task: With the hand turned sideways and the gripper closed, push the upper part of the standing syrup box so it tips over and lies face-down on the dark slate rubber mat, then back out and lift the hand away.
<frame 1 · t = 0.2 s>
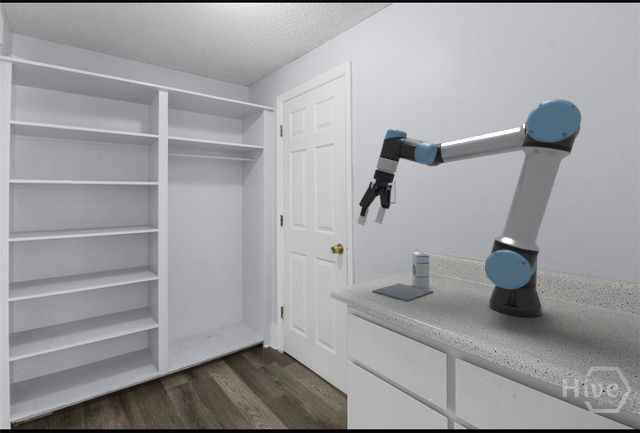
hand: (369, 223, 127), 27 cm above the worktop, tool tilted 15°, fingers open, 13 cm apart
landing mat: (402, 292, 128), on the worktop
syrup box: (420, 287, 136), on the worktop
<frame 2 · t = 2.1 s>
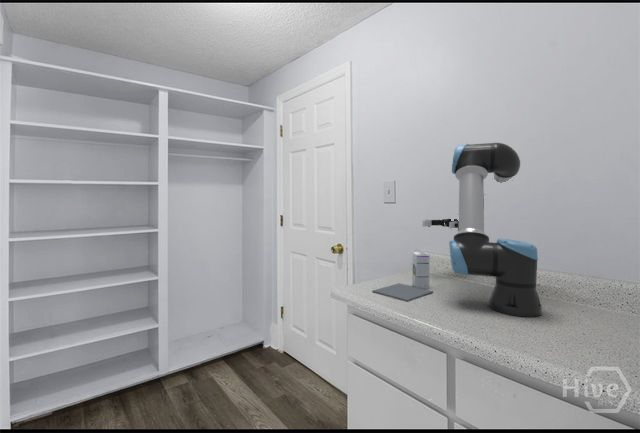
hand: (436, 224, 143), 26 cm above the worktop, tool horizontal, fingers open, 12 cm apart
nothing on the worktop moved.
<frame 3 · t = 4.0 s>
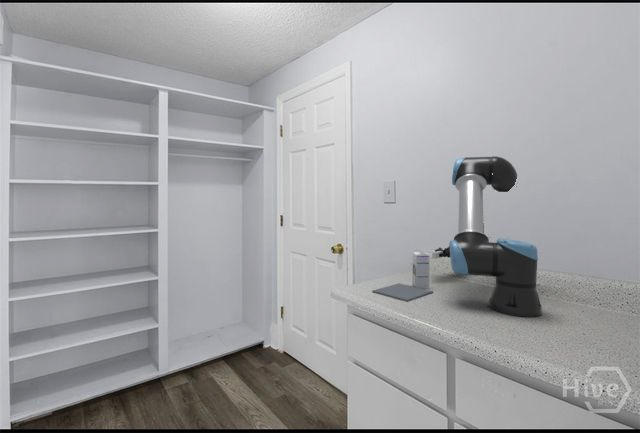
hand: (433, 255, 143), 12 cm above the worktop, tool horizontal, fingers closed
nothing on the worktop moved.
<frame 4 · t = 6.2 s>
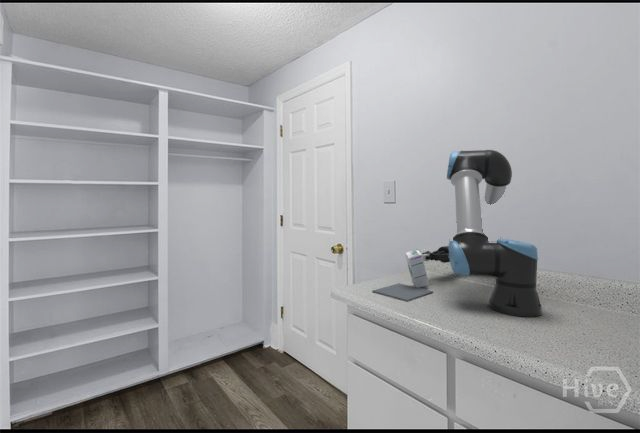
hand: (419, 258, 137), 12 cm above the worktop, tool horizontal, fingers closed
syrup box: (420, 284, 136), point 1 cm above the worktop, touching gripper, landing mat
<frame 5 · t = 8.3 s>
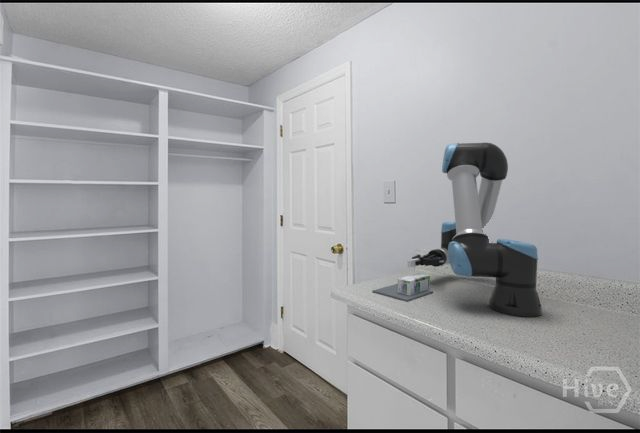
hand: (409, 263, 130), 11 cm above the worktop, tool horizontal, fingers closed
syrup box: (424, 281, 132), point 3 cm above the worktop, touching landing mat
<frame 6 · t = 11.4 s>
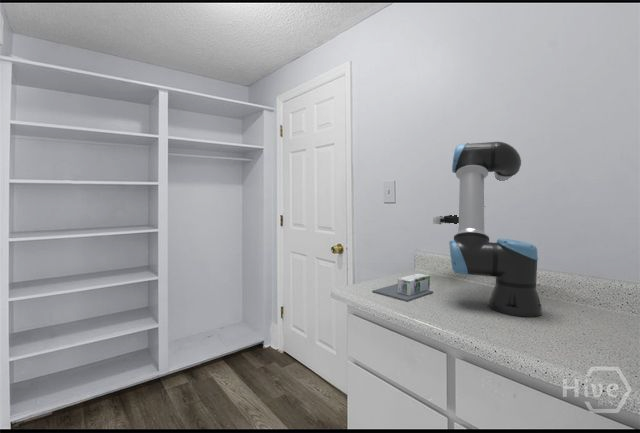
hand: (434, 220, 142), 28 cm above the worktop, tool horizontal, fingers closed
nothing on the worktop moved.
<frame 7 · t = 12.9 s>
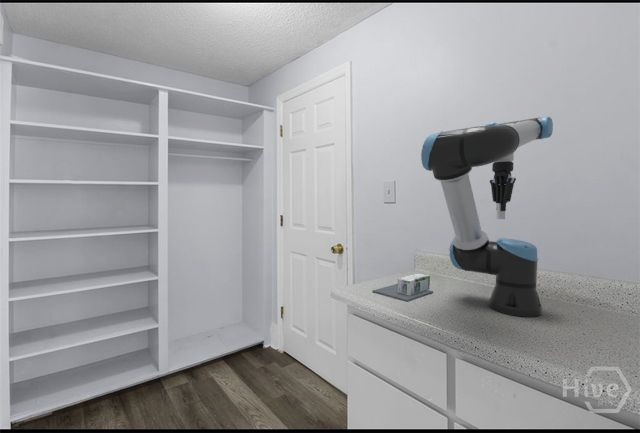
hand: (500, 219, 133), 29 cm above the worktop, tool pointing down, fingers closed
nothing on the worktop moved.
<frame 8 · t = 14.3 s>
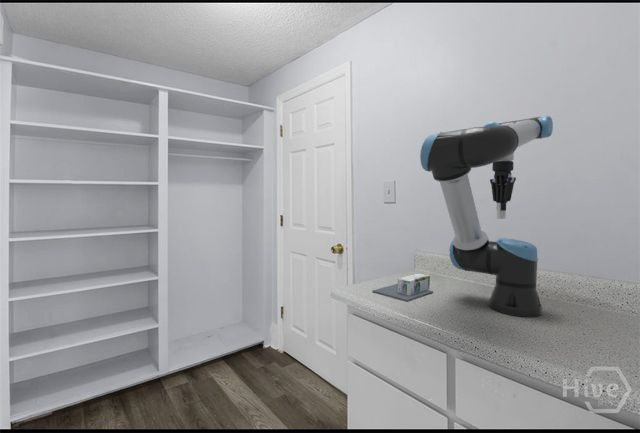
hand: (501, 218, 133), 29 cm above the worktop, tool pointing down, fingers closed
nothing on the worktop moved.
at the end: syrup box tilted 90°; syrup box touching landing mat; syrup box moved 5.0 cm from its start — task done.
